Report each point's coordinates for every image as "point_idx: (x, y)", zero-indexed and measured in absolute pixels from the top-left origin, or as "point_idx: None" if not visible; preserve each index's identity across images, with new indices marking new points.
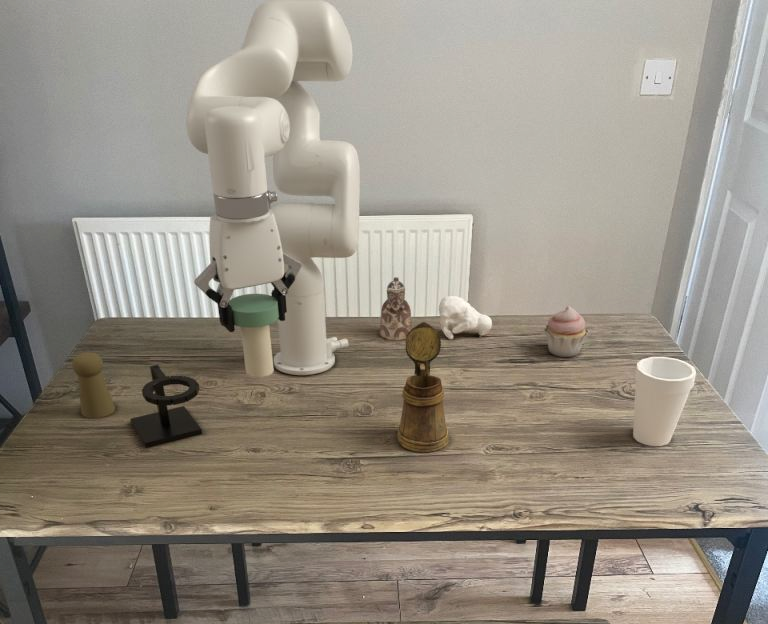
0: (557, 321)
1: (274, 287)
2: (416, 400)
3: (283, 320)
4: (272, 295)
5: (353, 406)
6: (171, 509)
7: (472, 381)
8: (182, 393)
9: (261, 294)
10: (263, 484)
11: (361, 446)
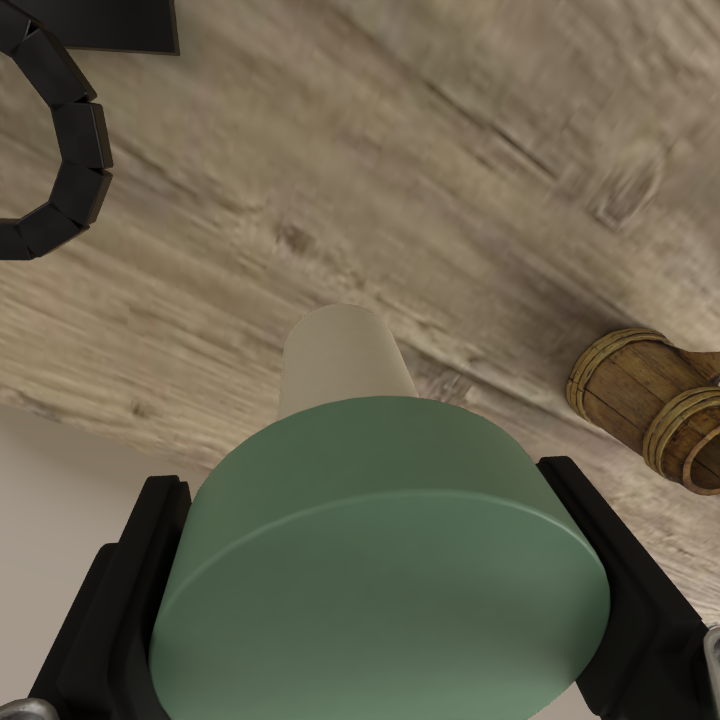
0: None
1: (696, 701)
2: (655, 467)
3: None
4: (621, 606)
5: (623, 155)
6: (50, 380)
7: None
8: (19, 225)
9: (568, 550)
10: (262, 380)
11: (507, 343)
